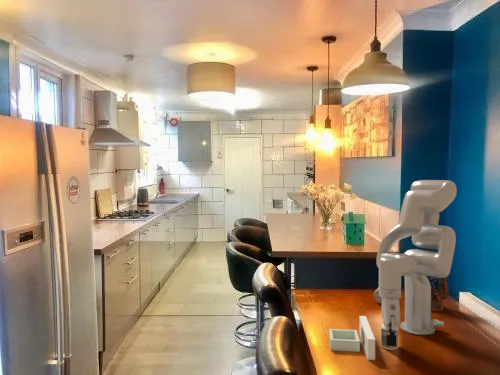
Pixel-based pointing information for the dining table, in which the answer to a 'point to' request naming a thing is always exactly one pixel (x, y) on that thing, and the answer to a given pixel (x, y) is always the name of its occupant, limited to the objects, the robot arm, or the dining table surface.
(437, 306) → the lantern
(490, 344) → the dining table surface
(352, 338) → the pale green square tray
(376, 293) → the ceramic mug
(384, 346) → the pill bottle
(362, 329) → the board
